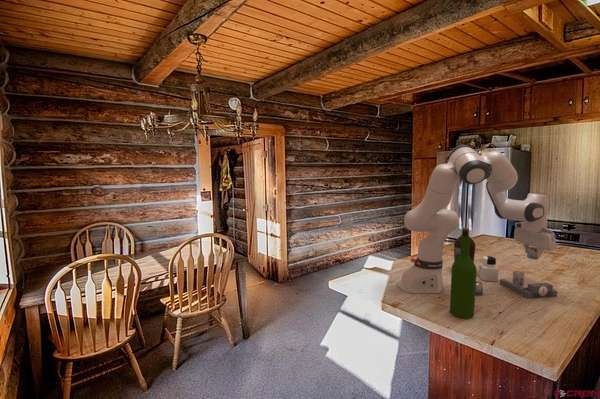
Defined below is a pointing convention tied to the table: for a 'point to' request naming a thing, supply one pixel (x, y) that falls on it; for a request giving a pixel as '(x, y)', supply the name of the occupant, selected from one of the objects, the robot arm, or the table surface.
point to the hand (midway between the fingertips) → (532, 254)
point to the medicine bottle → (488, 269)
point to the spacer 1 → (479, 288)
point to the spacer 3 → (532, 253)
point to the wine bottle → (463, 283)
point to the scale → (532, 289)
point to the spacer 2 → (518, 277)
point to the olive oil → (458, 245)
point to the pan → (522, 286)
